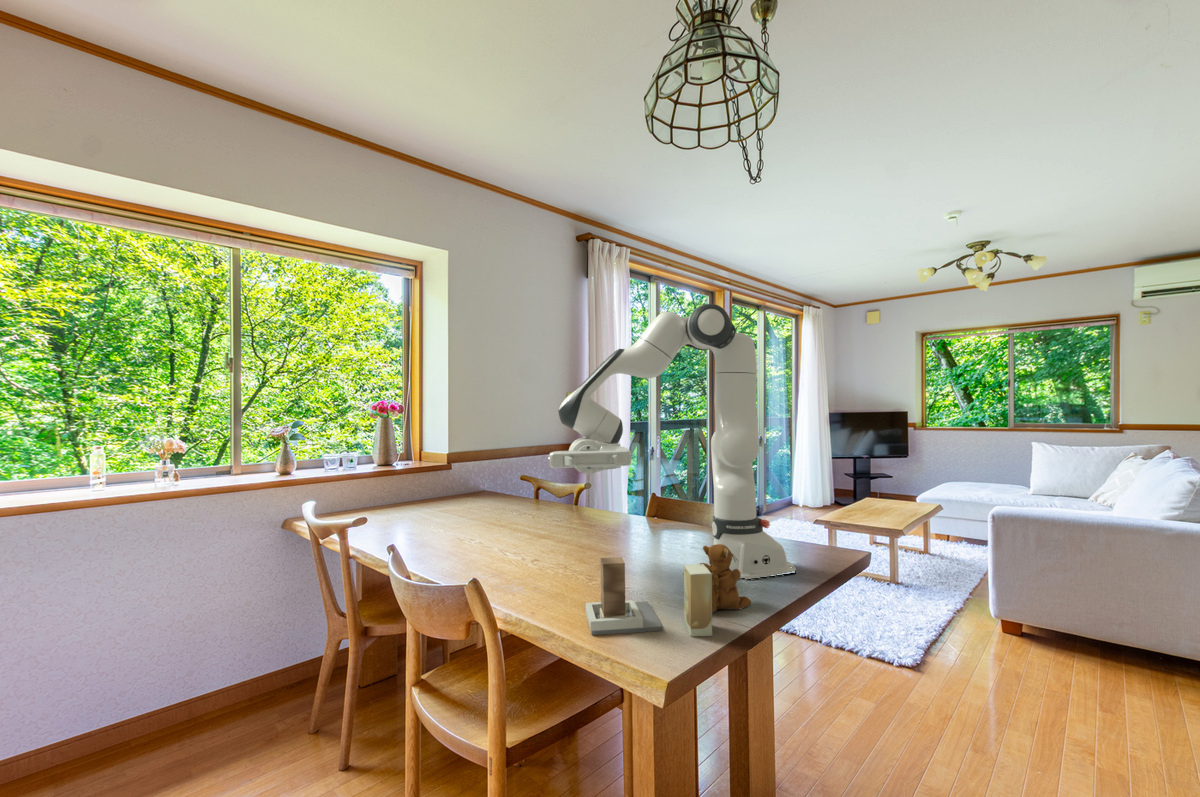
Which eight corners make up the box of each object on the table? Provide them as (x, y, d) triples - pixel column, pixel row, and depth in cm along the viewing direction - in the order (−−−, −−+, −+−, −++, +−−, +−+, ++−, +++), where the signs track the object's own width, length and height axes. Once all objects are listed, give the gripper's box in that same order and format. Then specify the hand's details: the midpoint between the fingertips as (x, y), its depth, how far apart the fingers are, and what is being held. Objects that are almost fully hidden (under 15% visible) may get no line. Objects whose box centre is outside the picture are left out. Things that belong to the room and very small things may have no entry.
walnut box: (623, 614, 114) (622, 556, 114) (627, 623, 109) (626, 563, 109) (599, 615, 113) (598, 557, 113) (602, 624, 108) (601, 564, 108)
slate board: (647, 604, 121) (647, 593, 121) (662, 630, 107) (661, 617, 107) (584, 608, 119) (584, 596, 119) (590, 635, 105) (590, 621, 105)
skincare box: (683, 624, 110) (682, 564, 110) (704, 623, 110) (703, 563, 110) (690, 637, 104) (689, 573, 104) (713, 636, 104) (712, 572, 104)
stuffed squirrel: (754, 605, 120) (753, 545, 120) (712, 621, 111) (711, 557, 112) (718, 593, 128) (717, 537, 128) (677, 607, 119) (676, 547, 120)
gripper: (547, 445, 140) (548, 449, 126) (625, 443, 142) (634, 446, 128) (547, 469, 140) (548, 476, 126) (625, 467, 142) (635, 473, 128)
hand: (593, 461), depth 127 cm, fingers open, 8 cm apart
